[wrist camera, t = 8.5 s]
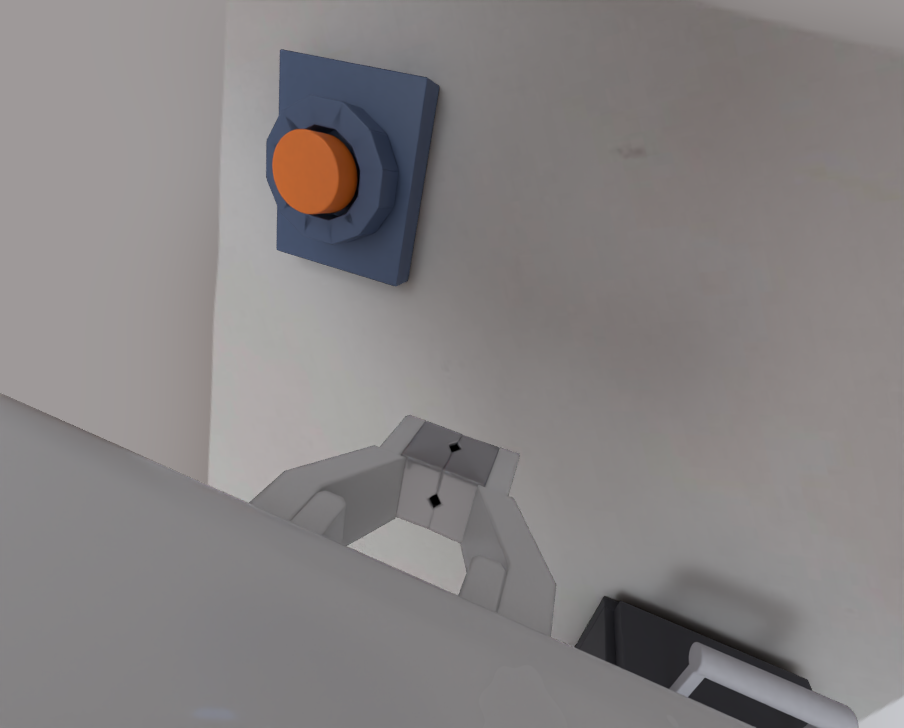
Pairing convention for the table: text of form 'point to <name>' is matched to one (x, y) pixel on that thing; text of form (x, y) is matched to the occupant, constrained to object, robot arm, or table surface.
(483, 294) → the table surface
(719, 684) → the drawer
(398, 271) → the control block
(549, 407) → the table surface
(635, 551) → the table surface
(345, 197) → the button
